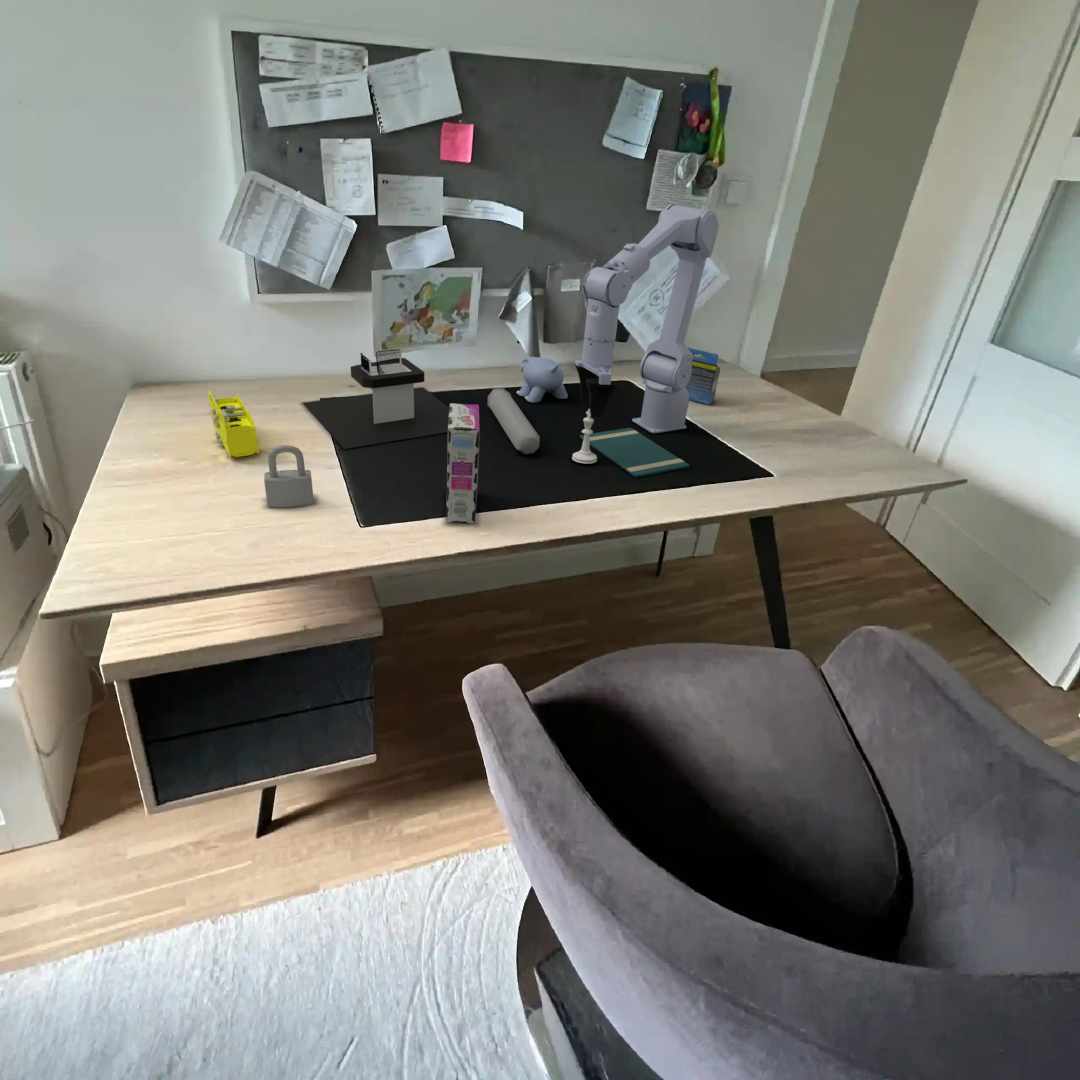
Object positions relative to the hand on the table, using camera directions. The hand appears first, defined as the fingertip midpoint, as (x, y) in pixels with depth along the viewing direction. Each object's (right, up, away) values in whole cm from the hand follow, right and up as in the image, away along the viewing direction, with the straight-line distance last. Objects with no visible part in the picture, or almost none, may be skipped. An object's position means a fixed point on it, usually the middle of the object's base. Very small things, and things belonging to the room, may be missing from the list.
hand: (591, 408), depth 139 cm
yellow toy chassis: (-67, -7, -3) cm, 68 cm away
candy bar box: (-23, -20, -18) cm, 36 cm away
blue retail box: (+28, +9, +37) cm, 47 cm away
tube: (-15, -3, +11) cm, 19 cm away
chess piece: (-1, -10, +2) cm, 10 cm away
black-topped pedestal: (-42, +1, +14) cm, 44 cm away
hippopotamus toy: (-10, +9, +33) cm, 35 cm away
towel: (+9, -8, +7) cm, 13 cm away
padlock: (-51, -19, -21) cm, 58 cm away
